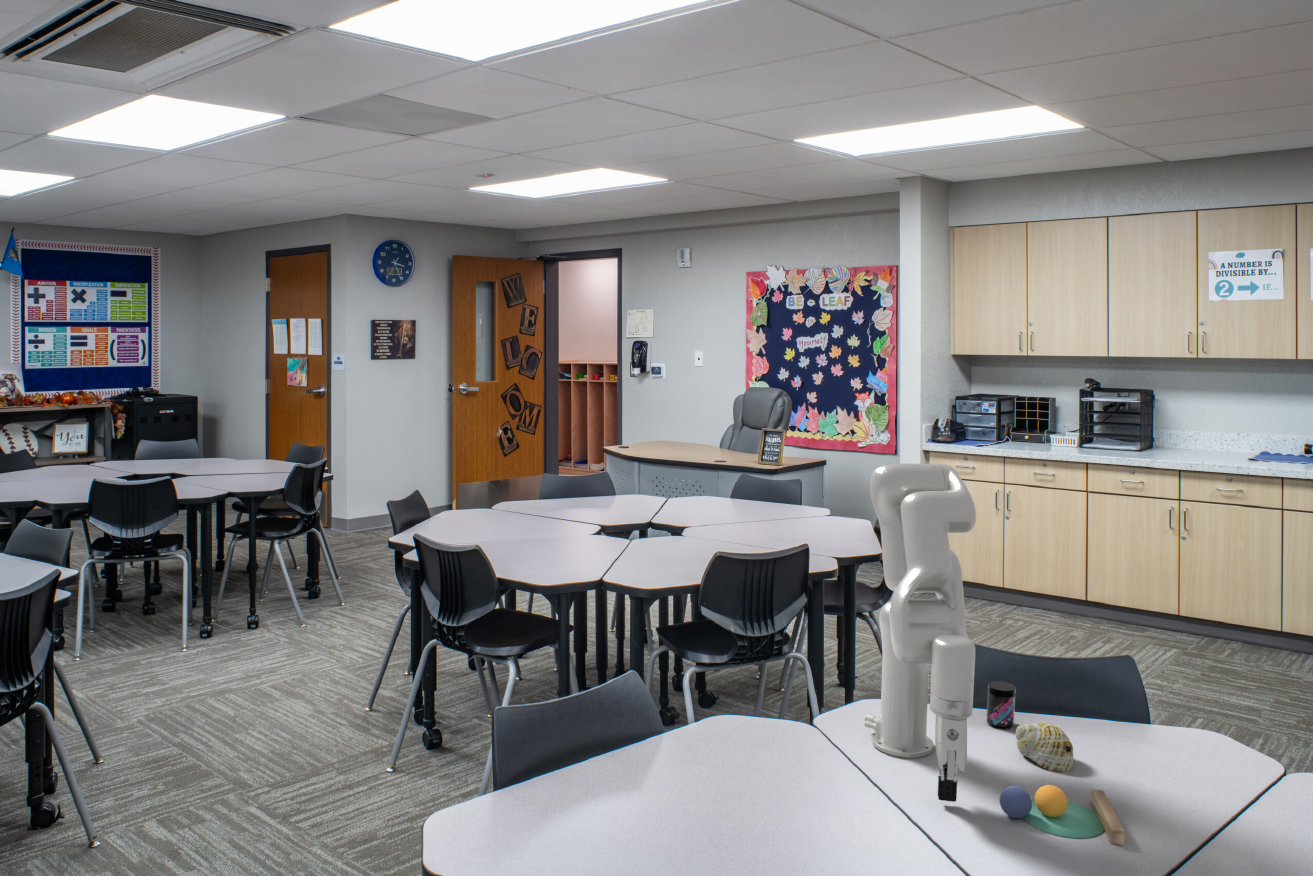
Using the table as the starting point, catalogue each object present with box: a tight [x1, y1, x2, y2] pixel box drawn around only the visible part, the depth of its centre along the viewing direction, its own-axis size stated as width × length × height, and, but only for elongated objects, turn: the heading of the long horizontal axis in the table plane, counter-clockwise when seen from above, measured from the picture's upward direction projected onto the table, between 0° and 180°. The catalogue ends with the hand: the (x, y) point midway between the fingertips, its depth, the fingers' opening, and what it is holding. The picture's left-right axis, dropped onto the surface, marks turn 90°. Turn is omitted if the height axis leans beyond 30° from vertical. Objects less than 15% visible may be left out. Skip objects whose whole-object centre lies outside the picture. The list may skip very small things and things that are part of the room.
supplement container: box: [986, 680, 1017, 730], centre depth 212 cm, size 6×6×9 cm
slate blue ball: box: [999, 785, 1033, 819], centre depth 171 cm, size 6×6×6 cm
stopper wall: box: [1090, 789, 1126, 846], centre depth 169 cm, size 2×15×2 cm, turn 168°
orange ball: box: [1034, 784, 1068, 817], centre depth 172 cm, size 6×6×6 cm
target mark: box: [1023, 798, 1105, 839], centre depth 171 cm, size 14×14×1 cm
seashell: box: [1015, 722, 1075, 773], centre depth 194 cm, size 10×10×10 cm
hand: (946, 798), depth 175 cm, fingers closed
